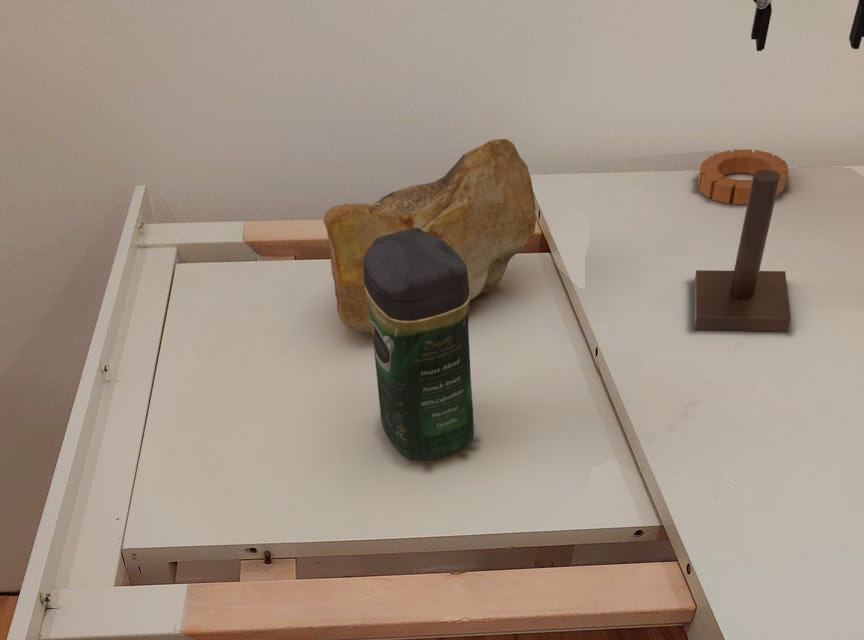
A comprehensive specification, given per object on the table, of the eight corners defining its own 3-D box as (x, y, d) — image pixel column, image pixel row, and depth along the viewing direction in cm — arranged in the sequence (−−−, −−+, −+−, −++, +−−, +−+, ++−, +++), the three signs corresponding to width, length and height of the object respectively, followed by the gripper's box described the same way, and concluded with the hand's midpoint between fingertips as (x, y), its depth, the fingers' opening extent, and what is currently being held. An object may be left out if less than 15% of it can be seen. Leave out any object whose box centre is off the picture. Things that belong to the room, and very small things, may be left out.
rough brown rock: (483, 238, 113) (471, 104, 102) (553, 288, 102) (548, 143, 91) (307, 302, 109) (275, 169, 98) (359, 361, 98) (330, 219, 87)
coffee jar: (487, 449, 87) (483, 260, 72) (408, 475, 85) (388, 288, 71) (446, 394, 93) (435, 210, 78) (372, 417, 91) (347, 235, 77)
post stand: (782, 284, 99) (814, 152, 88) (787, 332, 93) (822, 198, 83) (694, 282, 101) (715, 154, 90) (694, 329, 95) (717, 198, 85)
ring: (781, 165, 115) (785, 148, 114) (786, 204, 109) (790, 187, 108) (697, 166, 117) (700, 149, 116) (698, 204, 111) (700, 187, 110)
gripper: (947, -174, 88) (887, 30, 102) (755, -162, 92) (722, 34, 105) (960, -154, 84) (896, 57, 97) (758, -142, 87) (723, 60, 101)
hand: (806, 45), depth 101 cm, fingers open, 9 cm apart
